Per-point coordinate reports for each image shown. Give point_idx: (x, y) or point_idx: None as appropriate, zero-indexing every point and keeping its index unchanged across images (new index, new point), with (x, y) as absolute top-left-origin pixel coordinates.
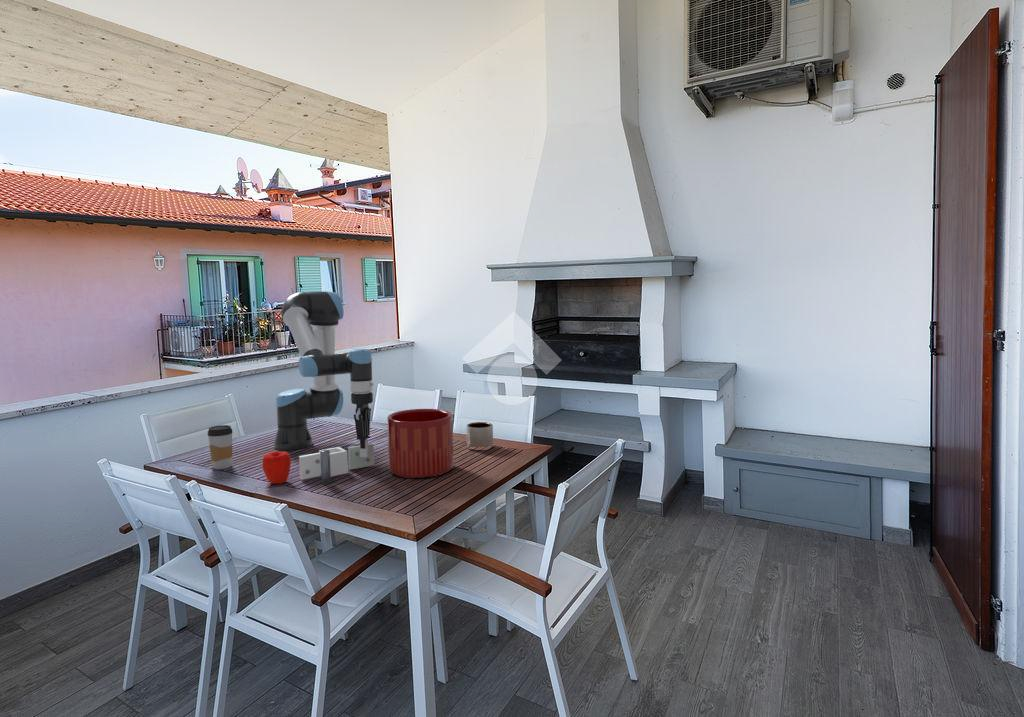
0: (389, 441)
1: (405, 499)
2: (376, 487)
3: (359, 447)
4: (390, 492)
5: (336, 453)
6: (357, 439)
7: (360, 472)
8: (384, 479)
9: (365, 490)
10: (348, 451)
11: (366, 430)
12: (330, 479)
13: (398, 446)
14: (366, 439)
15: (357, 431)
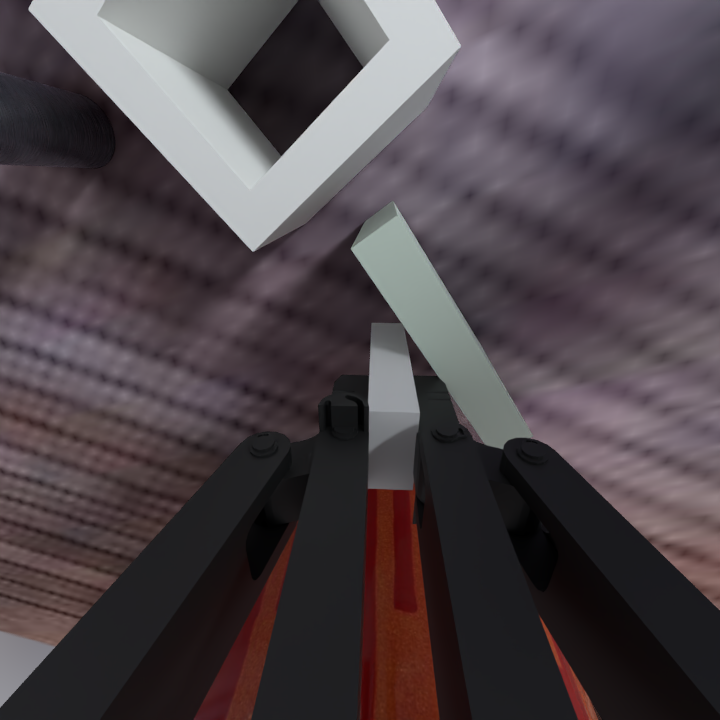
0: (226, 675)
1: (37, 546)
2: (112, 441)
3: (417, 341)
4: (78, 498)
5: (152, 141)
6: (331, 403)
7: (325, 305)
8: (225, 451)
9: (58, 406)
10: (383, 219)
11: (425, 585)
12: (75, 167)
13: None
14: (368, 486)
15: (163, 554)
